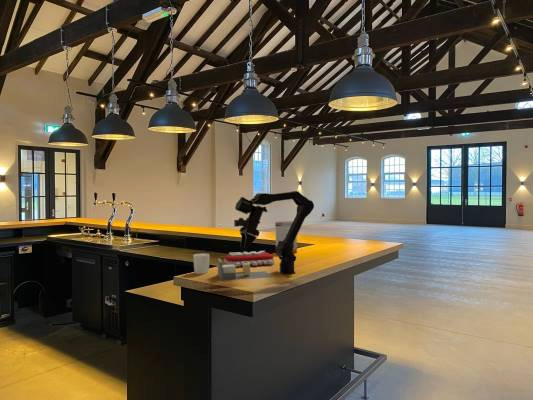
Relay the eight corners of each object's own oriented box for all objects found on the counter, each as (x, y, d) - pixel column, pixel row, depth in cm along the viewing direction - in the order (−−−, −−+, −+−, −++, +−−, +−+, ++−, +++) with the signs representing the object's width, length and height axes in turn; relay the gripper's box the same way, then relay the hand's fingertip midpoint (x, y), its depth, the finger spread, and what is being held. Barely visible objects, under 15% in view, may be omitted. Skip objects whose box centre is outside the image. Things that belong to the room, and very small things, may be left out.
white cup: (210, 272, 202) (210, 253, 202) (208, 276, 194) (208, 255, 194) (194, 273, 202) (194, 253, 201) (192, 276, 194) (192, 256, 193)
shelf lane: (265, 273, 198) (265, 255, 198) (272, 279, 185) (272, 259, 184) (217, 276, 193) (217, 257, 192) (221, 283, 179) (220, 262, 179)
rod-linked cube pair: (248, 274, 192) (248, 262, 192) (250, 276, 186) (250, 264, 186) (221, 275, 189) (221, 264, 189) (223, 278, 183) (222, 266, 183)
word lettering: (265, 248, 242) (280, 255, 213) (265, 259, 242) (280, 268, 213) (220, 250, 234) (230, 258, 206) (221, 261, 235) (230, 271, 206)
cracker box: (297, 251, 268) (296, 220, 268) (296, 252, 262) (296, 221, 262) (276, 251, 270) (275, 220, 269) (275, 252, 264) (275, 221, 263)
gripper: (235, 212, 199) (224, 241, 197) (242, 210, 181) (230, 243, 179) (256, 220, 201) (245, 249, 199) (264, 219, 183) (252, 251, 181)
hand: (243, 248), depth 189 cm, fingers open, 9 cm apart
